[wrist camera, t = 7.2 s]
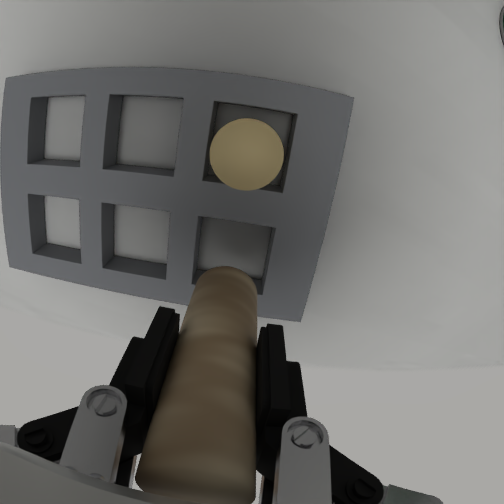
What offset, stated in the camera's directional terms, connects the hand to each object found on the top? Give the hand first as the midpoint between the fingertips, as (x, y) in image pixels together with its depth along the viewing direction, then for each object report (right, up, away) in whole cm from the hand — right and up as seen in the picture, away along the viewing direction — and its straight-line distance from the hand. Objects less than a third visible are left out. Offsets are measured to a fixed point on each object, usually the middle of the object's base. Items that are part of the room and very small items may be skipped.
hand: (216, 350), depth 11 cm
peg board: (-5, +8, +8) cm, 12 cm away
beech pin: (0, +2, +4) cm, 4 cm away
